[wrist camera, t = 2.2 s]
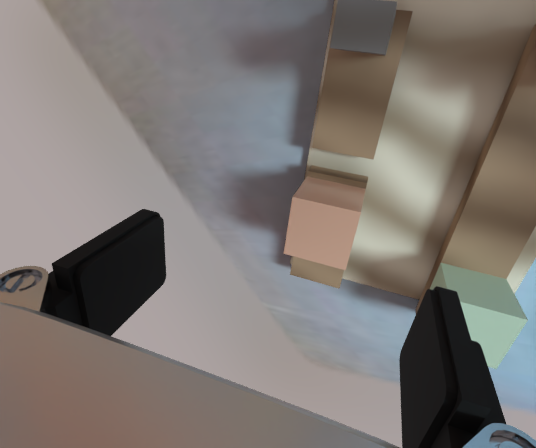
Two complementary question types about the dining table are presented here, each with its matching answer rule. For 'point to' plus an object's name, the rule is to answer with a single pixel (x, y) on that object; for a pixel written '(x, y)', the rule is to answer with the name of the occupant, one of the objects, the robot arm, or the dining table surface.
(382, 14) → the strip piece
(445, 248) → the strip
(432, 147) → the board
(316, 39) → the dining table surface
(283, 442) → the robot arm
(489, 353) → the cube
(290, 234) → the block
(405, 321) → the dining table surface
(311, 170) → the strip piece
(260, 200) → the dining table surface
